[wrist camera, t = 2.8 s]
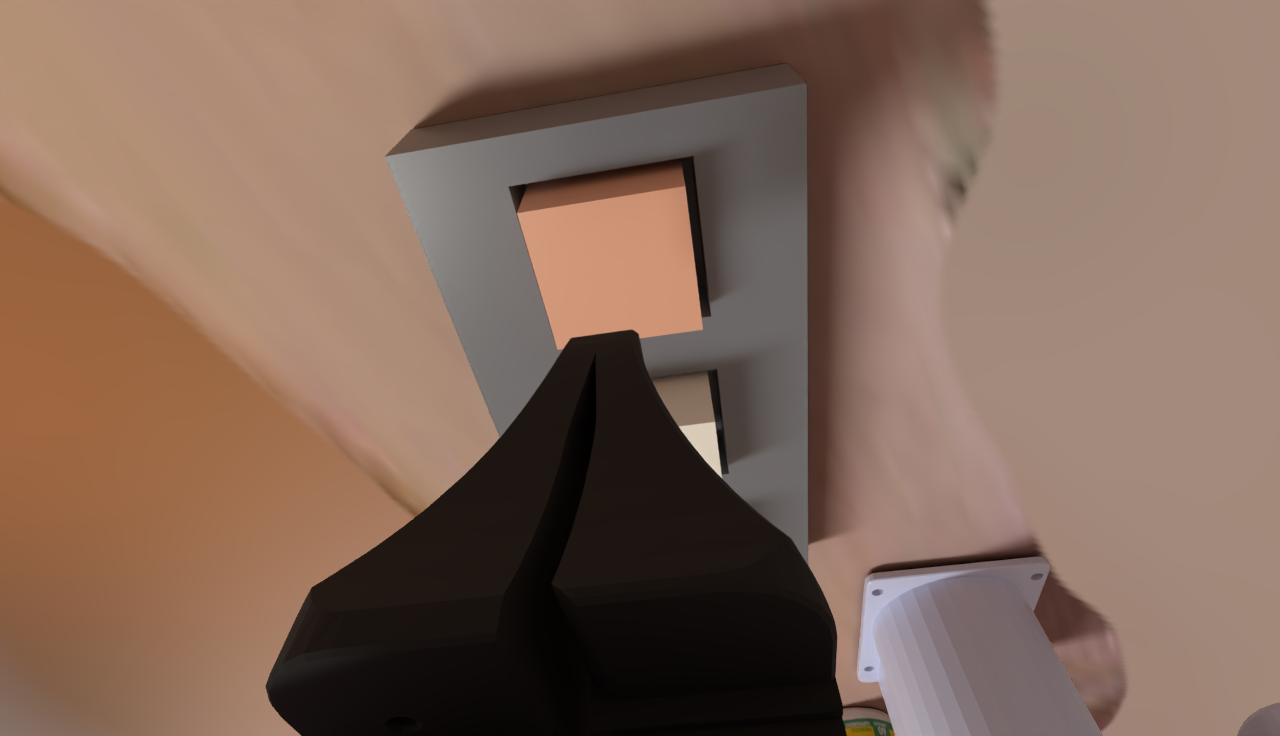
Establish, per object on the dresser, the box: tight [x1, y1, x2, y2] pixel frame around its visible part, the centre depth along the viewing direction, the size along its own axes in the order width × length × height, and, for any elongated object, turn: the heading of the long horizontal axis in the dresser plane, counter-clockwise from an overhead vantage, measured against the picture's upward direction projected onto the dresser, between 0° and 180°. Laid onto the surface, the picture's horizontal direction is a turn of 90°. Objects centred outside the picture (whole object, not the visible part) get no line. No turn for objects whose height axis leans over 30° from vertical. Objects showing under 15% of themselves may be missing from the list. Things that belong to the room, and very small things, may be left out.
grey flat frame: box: [385, 63, 808, 565], centre depth 21 cm, size 20×10×2 cm, turn 9°
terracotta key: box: [517, 158, 703, 350], centre depth 17 cm, size 4×4×2 cm
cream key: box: [651, 370, 722, 478], centre depth 20 cm, size 4×4×2 cm
